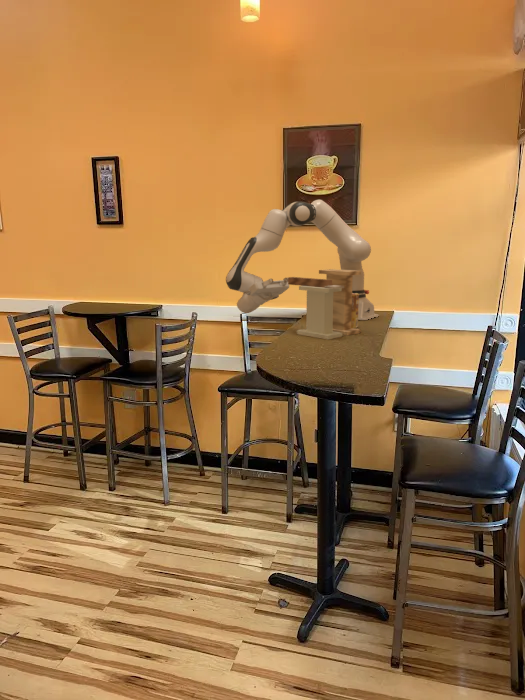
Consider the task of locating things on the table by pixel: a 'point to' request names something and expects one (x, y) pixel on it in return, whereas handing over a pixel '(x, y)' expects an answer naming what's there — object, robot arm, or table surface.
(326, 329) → the short pedestal
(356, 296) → the candy box
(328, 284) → the scraper
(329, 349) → the table surface
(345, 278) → the tall pedestal
